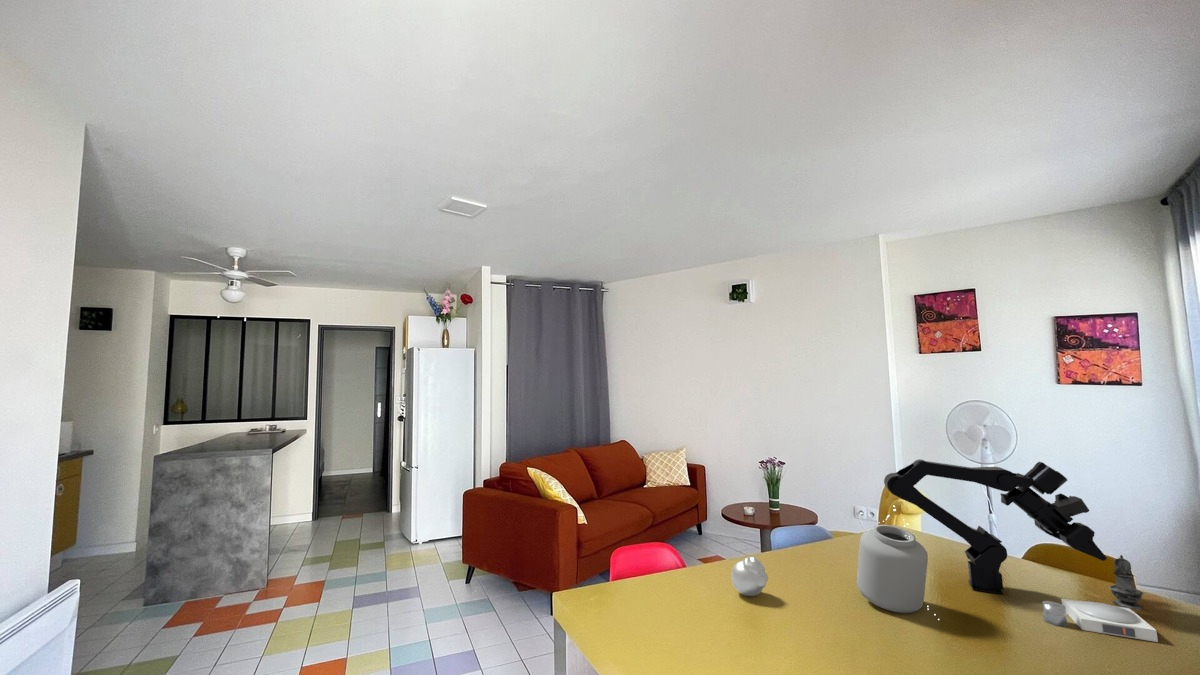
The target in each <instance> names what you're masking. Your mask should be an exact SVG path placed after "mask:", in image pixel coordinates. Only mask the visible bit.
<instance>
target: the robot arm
mask: <svg viewBox="0 0 1200 675" xmlns="http://www.w3.org/2000/svg"><path fill="white" fill-rule="evenodd" d="M926 476H932V477H939V478H946V479H951V480H952V479H953V480H957V481H964V482H971V483H974V484H975V483H976V484H979V485H981V486H985V487H987V488H992V489H995V490H998V491H1001V492H1007V493H1000V497H1001V498H1000V502H1001V504H1003V505H1006V506H1010V505H1011V504H1012V503H1013V504H1014V505H1016V506H1017V507H1018V508H1019V509H1021V510H1022V511H1023V512H1024V513H1026V515H1027V516H1028V517H1029V518H1031V519H1032V520H1034V525H1035V527H1037V528H1038V529H1039V530H1041V531H1042V532H1044V533H1045V534H1047V535H1049V536H1050V537H1053V538H1056V539H1057V540H1060V541H1062V542H1063V543H1064V544H1065V545H1067V546H1068V547H1070V548H1071V549H1073V550H1076V551H1078V552H1081V553H1083V554H1085V555H1089V556H1090V557H1093V558H1095V559H1098V560H1100V561H1103V562H1104V561H1106V560H1108V557H1107V556H1106V555H1105V554H1104V553H1103V551H1102V550H1101V548H1099V547H1098V545H1097V544H1096V543H1095V542H1094V537H1095V534H1096V533H1095V531H1094V530H1093V529H1092V528H1090V527H1089V526H1088V525H1086V524H1083V523H1081V522H1076V521H1075V522H1072V521H1073V520H1074V516H1078V515H1080V514H1083V513H1084V514H1087V513H1088V512H1090V509H1089V508H1088V506H1087V504H1086V503H1085V502H1084V500H1083V499H1082V498H1081V497H1077V496H1072V495H1069V497H1068V496H1067V495H1065V494H1063V493H1058V494H1055V496H1054V497H1055V499H1054V502H1053V503H1052V502H1050V501H1048V500H1046V499H1045V498H1043V496H1041V495H1044V494H1047V495H1053V493H1054V492H1056V491H1057V490H1058V489H1060V487H1062V486H1063V485H1064V484H1065V483H1066V482H1067V481H1068V478H1067V477H1066V476H1064V475H1063V474H1062V473H1061V472H1060V471H1057V470H1055V469H1054V468H1052V467H1050V466H1049V465H1047V464H1045V463H1044V462H1042V461H1037V462H1036V463H1035V464H1034V465H1033V467H1032V468H1030V469H1029V470H1028V471H1027V472H1026V473H1024V474H1022V473H1018V472H1016V473H1015V472H1012V471H1010V470H1008V469H1005V468H1002V467H999V466H978V467H970V466H962V465H958V464H957V465H956V464H949V463H941V462H937V461H936V462H935V461H930V460H924V459H916V460H914V461H913V462H912V463H911V464H909V465H906V466H905V467H903V468H900V469H899V470H898V471H897V472H890V473H888V474H887V475H885V476H884V480H883V483H884V487H885V488H886V489H887V490H888V491H889V492H890V493H891V494H892V495H894V496H896V497H897V498H900V499H901V500H903V501H906V502H908V503H911V504H912V505H914V506H916V507H918V508H919V509H921V510H922V511H923V512H925V513H926V514H927V515H929V516H931V518H933V519H935V520H937V521H938V522H939V523H940V524H942V525H943V526H945V527H946V528H947V529H949V530H951V531H952V533H953V532H954V533H955V534H956V535H958V536H959V537H961V538H962V539H963V540H964V541H965V542H966V543H968V544H969V545H970V546H969V547H968V548H966V550H964V553H965V555H966V557H967V559H968V561H967V568H968V578H969V580H968V585H969V586H970V587H971V589H972V590H973V591H978V592H985V593H990V594H991V593H992V594H998V595H999V594H1000V595H1003V594H1004V592H1003V590H1004V584H1003V576H1002V575H1003V574H1002V573H1001V571H1000V568H1001V565H1002V564H1003V563H1004V562H1005V561H1006V560H1007V558H1008V551H1007V550H1008V549H1007V548H1006V547H1005V546H1004V545H1003V544H1002V542H1003V541H1002V540H1000V539H999V538H998V537H996V536H995V535H994V534H991V533H989V532H988V531H987V530H986V529H985V528H983V527H981V525H978V526H977V528H974V527H972V526H969V525H968V524H966V523H965V522H963V521H962V520H961V519H959V518H958V517H956V516H955V515H953V514H952V513H950V512H948V511H947V510H946V509H944V508H943V507H941V506H940V505H938V504H937V503H936V502H934V501H933V500H931V499H930V498H928V496H926V495H924V494H922V493H921V492H920V491H919V490H918V489H917V488H916V487H915V486H916V485H917V484H918V483H919V482H921V480H922V479H923V478H925V477H926ZM1037 492H1038V493H1039V494H1038V493H1037ZM1040 494H1041V495H1040ZM1071 522H1072V523H1071Z"/></svg>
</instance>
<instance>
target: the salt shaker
mask: <svg viewBox="0 0 1200 675" xmlns="http://www.w3.org/2000/svg"><path fill="white" fill-rule="evenodd" d="M1113 564H1114V570H1115V571H1113V573H1112V574H1115V584H1114V585H1109V586H1108V588H1109V590H1110V591H1111V594H1112V595H1113V596H1114V597H1115V598H1116V599H1113V600H1112V604H1114V605H1115V606H1117V607H1124V608H1129V609H1131V610H1134V611H1135V610H1136V611H1138V610H1139V611H1140V610H1141V611H1142V610H1144V607H1143V606H1142V605H1141V604H1139V603H1138V602H1140V601H1142V596H1143V595H1144V592H1142V591H1141V590H1139V589H1137V588H1136V586H1135V584H1134V578H1135V575H1134V574H1133V572H1132V565H1131V562H1130V561H1129V560H1127V559H1125V558H1124V556H1123V555H1122V554H1120V556H1119V558H1115V559H1114V561H1113Z"/></svg>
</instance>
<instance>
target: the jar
mask: <svg viewBox="0 0 1200 675" xmlns="http://www.w3.org/2000/svg"><path fill="white" fill-rule="evenodd" d="M892 507H894V509H893V512H896V511H897V509H896V505H893V506H892ZM889 517H890V514H888V515H887V516H886V518H885V521H887V520H888V519H889ZM902 520H903V521H905V518H904V519H902ZM885 521H884V520H883V521H882V522H883V523H884V522H885ZM906 525H907V526H909V523H906ZM906 525H903V527H904V528H906ZM915 536H916V535H914V534H913V533H912V532H910V531H908V530H906V529H903V528H901V527H898V526H895V525H888V524H880V522H878V525H875V526H874V528H873V529H871V530H866V531H864V532H863V533H862V534H861V536H860V540H859V547H858V548H859V549H858V560H857V571H856V573H857V574H856V587H857V589H858V590H859V593H860V594H861V595H862V596H863V597H864V598H865V599H866V600H868V601H869V602H871V603H872V604H874V606H877V607H878V608H879V607H880V609H883V610H886V611H888V612H889V611H890V612H893V613H900V614H907V613H908V614H910V613H915V612H917V611H920V609H921V608H922V607H923V605H924V600H925V591H926V582H927V570H928V561H929V557H928V556H929V555H928V551H927V550H926V548H925V546H923V545H922V544H921V543H920V542H919V541H918V540H917V539H916V537H915ZM926 607H927V611H929V610H930V608H929V605H927V606H926ZM934 616H936V613H934ZM937 620H938V621H940V618H938V619H937Z"/></svg>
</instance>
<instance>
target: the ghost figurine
mask: <svg viewBox="0 0 1200 675" xmlns="http://www.w3.org/2000/svg"><path fill="white" fill-rule="evenodd" d="M730 575H731V576H730V577H731V582H732V585H733V587H734V588H735V589H736V591H738V593H740V594H741V595H744V596H746V597H755V596H757V595H759V594H760V593H762V591H763V590H764V588H765V587H766V586H767V583H768V580H769V576H768V574H767V572H766V567H765V565H764V564H763V563H762V561H761V560H760V559H758V558H757V557H754V556H747V557H745V558H744V559H741V560H740V561H738V562H736V563H735V564H734V565H733V567H732V569H731V574H730Z"/></svg>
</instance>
